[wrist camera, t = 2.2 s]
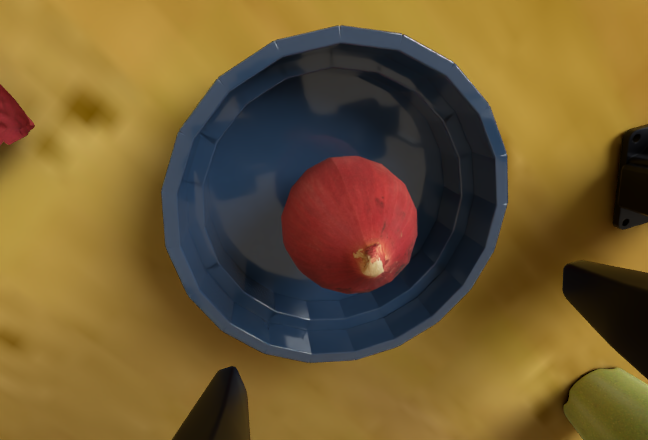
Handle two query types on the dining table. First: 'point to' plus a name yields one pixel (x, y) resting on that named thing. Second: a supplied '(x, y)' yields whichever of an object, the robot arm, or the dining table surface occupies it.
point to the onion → (349, 224)
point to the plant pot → (609, 406)
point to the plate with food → (12, 119)
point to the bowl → (312, 148)
